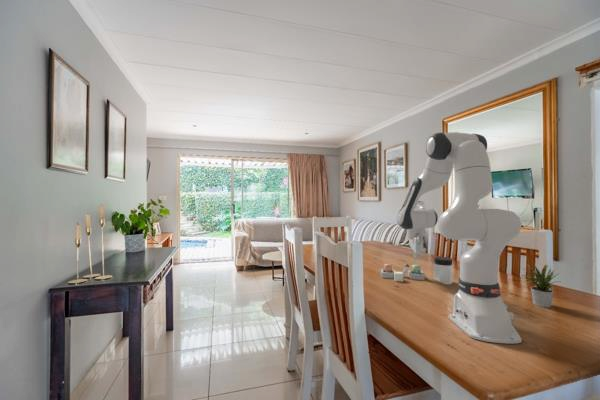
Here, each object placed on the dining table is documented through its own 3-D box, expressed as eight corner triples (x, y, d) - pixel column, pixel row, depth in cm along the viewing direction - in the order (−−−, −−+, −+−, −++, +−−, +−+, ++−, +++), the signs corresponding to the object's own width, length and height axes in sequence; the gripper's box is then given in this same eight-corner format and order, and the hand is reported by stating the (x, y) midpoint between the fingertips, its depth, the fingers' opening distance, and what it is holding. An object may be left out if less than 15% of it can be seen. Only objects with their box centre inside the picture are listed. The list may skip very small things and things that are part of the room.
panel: (430, 286, 135) (429, 278, 135) (382, 283, 140) (382, 275, 140) (424, 278, 149) (424, 270, 149) (380, 276, 154) (380, 268, 154)
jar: (448, 286, 136) (448, 261, 136) (431, 282, 142) (431, 258, 142) (455, 282, 142) (455, 258, 142) (438, 278, 148) (438, 256, 148)
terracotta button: (392, 273, 147) (392, 265, 147) (384, 272, 148) (384, 265, 148) (391, 271, 151) (391, 263, 151) (383, 270, 152) (383, 263, 152)
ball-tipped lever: (404, 277, 146) (410, 265, 146) (400, 276, 147) (406, 264, 146) (403, 276, 149) (409, 264, 148) (399, 274, 149) (405, 263, 148)
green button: (421, 274, 144) (421, 266, 144) (412, 274, 145) (412, 266, 145) (419, 272, 148) (419, 264, 148) (411, 272, 148) (411, 264, 148)
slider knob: (403, 281, 140) (403, 273, 139) (394, 281, 140) (394, 273, 140) (402, 279, 143) (402, 271, 143) (393, 278, 144) (393, 271, 144)
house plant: (521, 294, 123) (521, 257, 122) (565, 303, 113) (565, 262, 113) (515, 304, 113) (515, 263, 112) (563, 314, 103) (563, 269, 103)
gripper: (426, 235, 135) (426, 264, 135) (418, 229, 155) (418, 254, 155) (412, 235, 137) (412, 263, 137) (406, 229, 156) (406, 254, 157)
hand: (416, 258), depth 146 cm, fingers closed
